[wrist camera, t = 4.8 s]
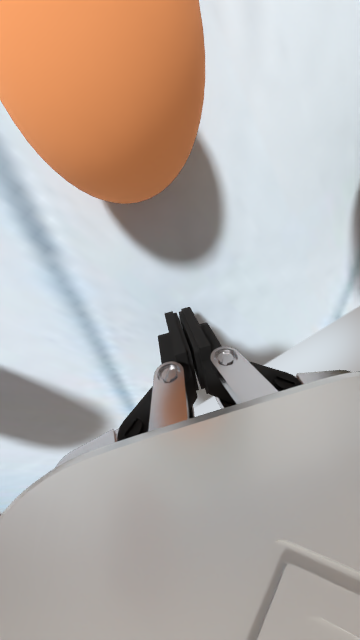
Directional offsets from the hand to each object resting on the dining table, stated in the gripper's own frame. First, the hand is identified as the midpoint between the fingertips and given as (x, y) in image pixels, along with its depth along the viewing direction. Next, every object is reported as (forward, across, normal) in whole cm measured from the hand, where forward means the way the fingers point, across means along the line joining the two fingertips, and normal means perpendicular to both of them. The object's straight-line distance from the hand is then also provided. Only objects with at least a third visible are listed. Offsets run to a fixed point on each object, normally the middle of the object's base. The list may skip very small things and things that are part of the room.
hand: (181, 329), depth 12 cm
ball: (-1, +1, -10) cm, 10 cm away
